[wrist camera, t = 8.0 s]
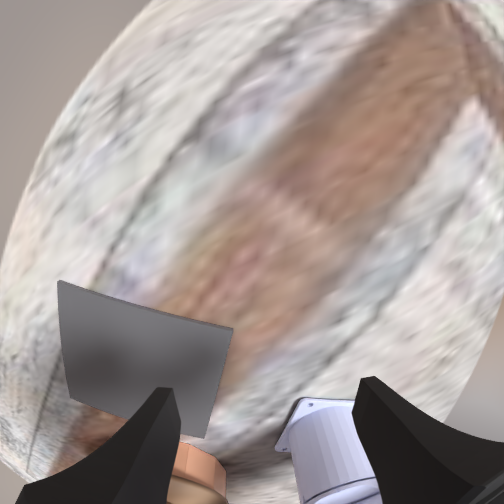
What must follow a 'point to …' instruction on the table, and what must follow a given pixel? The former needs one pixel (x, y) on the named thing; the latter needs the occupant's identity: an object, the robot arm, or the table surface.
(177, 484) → the lid
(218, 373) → the mat
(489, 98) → the table surface
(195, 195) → the table surface
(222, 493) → the bowl
